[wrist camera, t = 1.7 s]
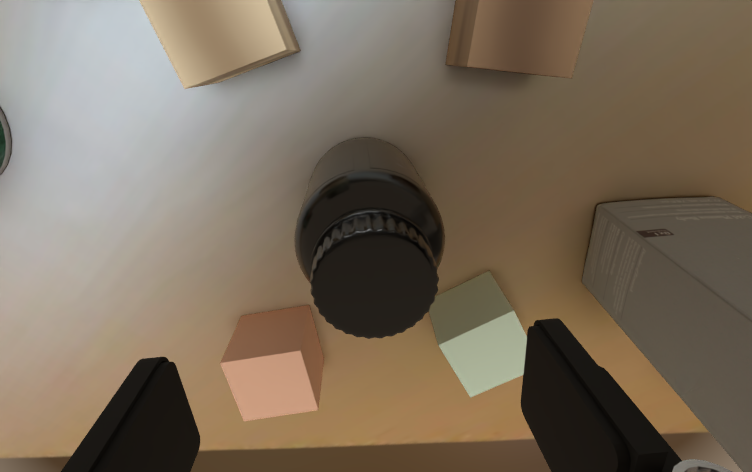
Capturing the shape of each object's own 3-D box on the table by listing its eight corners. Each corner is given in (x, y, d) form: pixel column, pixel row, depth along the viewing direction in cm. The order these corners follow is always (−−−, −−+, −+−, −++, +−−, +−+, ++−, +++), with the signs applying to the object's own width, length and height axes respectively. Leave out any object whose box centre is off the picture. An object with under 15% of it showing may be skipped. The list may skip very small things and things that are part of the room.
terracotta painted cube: (309, 304, 29) (300, 350, 25) (324, 358, 31) (318, 410, 27) (241, 315, 29) (220, 363, 25) (260, 367, 31) (243, 421, 27)
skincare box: (714, 193, 27) (1132, 353, 12) (685, 285, 30) (996, 503, 15) (588, 200, 27) (863, 372, 12) (572, 293, 30) (777, 520, 15)
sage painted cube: (488, 270, 29) (513, 310, 24) (513, 320, 30) (541, 366, 26) (425, 300, 29) (438, 345, 25) (453, 347, 31) (470, 397, 27)
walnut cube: (553, -27, 21) (607, -50, 17) (529, 74, 23) (571, 78, 19) (461, -40, 21) (490, -67, 16) (445, 64, 23) (466, 66, 18)
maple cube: (261, -52, 20) (234, -84, 16) (300, 50, 22) (286, 49, 18) (172, -16, 21) (121, -36, 16) (219, 82, 23) (184, 88, 18)
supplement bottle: (355, 256, 28) (353, 388, 17) (288, 178, 25) (235, 273, 14) (439, 199, 26) (498, 302, 15) (377, 111, 24) (395, 157, 13)
